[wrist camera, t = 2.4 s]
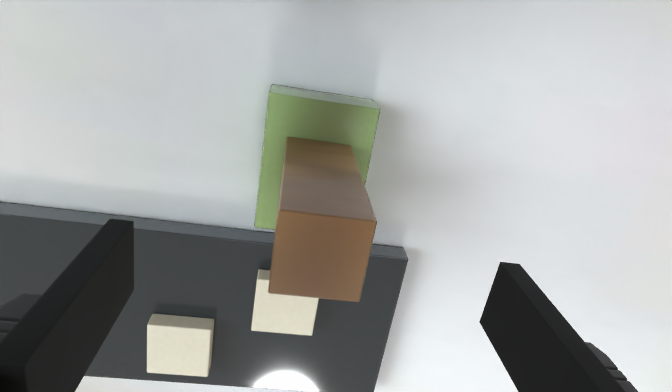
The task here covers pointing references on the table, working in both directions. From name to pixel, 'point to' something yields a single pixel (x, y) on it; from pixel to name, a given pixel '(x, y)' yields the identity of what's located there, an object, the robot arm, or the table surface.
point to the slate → (209, 300)
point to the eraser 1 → (179, 345)
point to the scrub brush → (317, 192)
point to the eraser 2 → (282, 310)
